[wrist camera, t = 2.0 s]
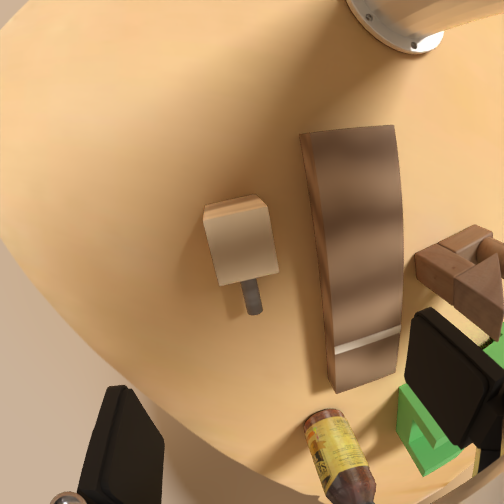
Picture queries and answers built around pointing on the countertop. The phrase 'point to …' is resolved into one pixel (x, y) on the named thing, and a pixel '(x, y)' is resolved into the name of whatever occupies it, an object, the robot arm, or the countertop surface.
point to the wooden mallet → (467, 276)
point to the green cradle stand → (431, 424)
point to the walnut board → (357, 248)
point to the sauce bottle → (339, 459)
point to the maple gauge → (241, 244)
